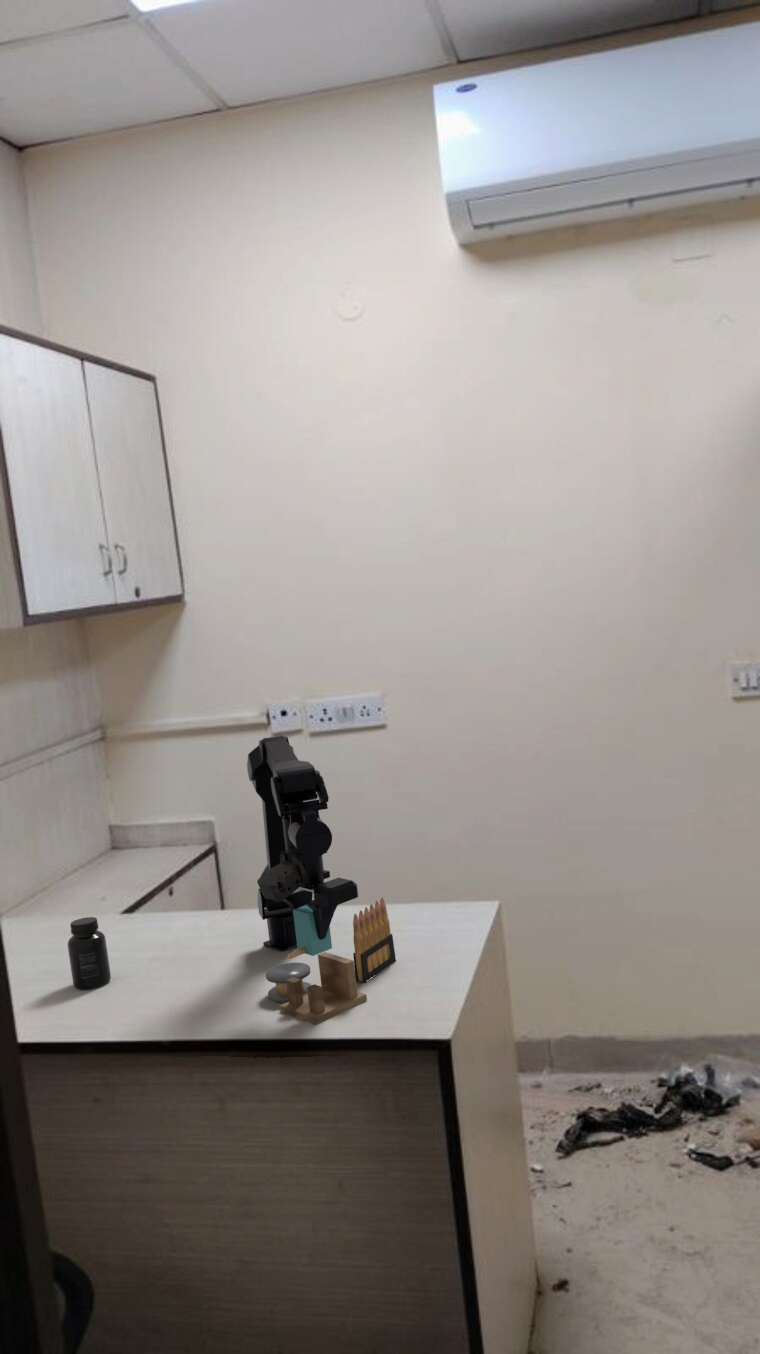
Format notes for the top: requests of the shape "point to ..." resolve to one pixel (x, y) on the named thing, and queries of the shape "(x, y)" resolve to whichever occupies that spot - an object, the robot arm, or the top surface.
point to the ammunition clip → (372, 942)
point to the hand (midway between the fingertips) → (313, 936)
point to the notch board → (325, 991)
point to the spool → (284, 973)
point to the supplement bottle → (88, 955)
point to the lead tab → (308, 934)
